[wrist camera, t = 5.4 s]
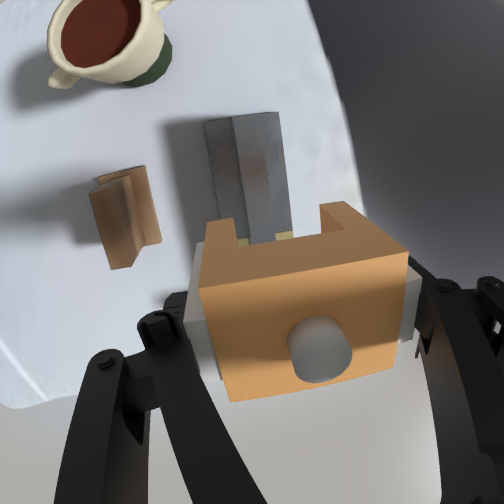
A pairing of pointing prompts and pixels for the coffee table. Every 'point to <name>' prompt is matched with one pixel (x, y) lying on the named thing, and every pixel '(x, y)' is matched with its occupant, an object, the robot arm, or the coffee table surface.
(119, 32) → the character mug
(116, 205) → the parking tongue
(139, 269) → the coffee table surface
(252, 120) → the rail
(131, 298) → the coffee table surface
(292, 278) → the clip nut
